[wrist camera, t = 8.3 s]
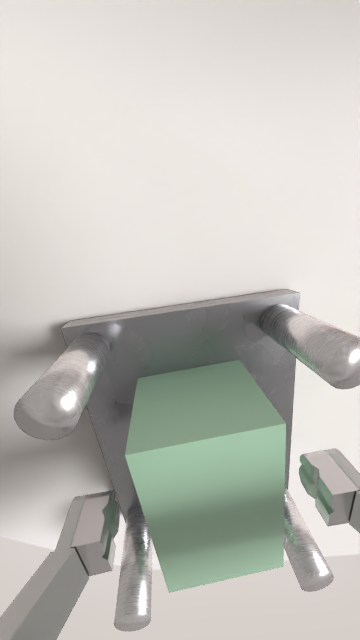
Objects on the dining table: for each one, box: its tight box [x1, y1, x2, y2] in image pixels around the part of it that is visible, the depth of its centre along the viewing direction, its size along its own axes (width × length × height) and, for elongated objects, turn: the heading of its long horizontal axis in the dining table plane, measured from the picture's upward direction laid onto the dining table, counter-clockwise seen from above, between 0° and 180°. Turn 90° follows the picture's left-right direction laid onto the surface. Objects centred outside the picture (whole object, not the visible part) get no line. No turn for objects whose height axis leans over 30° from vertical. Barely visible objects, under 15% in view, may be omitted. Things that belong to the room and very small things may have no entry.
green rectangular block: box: [125, 360, 286, 592], centre depth 10 cm, size 8×5×4 cm, turn 9°
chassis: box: [14, 289, 360, 631], centre depth 10 cm, size 14×11×5 cm
